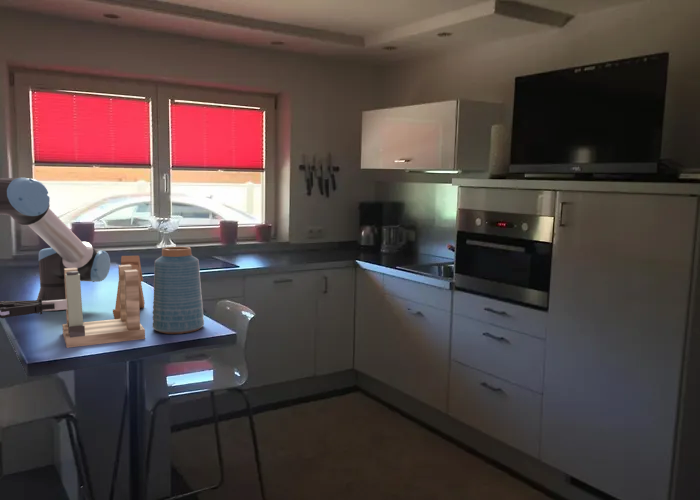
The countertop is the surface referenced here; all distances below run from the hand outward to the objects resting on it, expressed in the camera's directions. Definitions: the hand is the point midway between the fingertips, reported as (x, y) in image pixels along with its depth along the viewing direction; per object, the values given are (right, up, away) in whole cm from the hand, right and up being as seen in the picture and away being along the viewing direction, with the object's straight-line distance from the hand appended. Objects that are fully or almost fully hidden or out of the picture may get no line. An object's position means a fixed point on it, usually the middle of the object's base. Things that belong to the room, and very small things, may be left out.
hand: (67, 304), depth 178 cm
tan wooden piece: (+5, -8, +39) cm, 41 cm away
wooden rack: (+6, -11, +12) cm, 17 cm away
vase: (+27, -10, +22) cm, 36 cm away
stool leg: (+2, -7, +2) cm, 8 cm away
